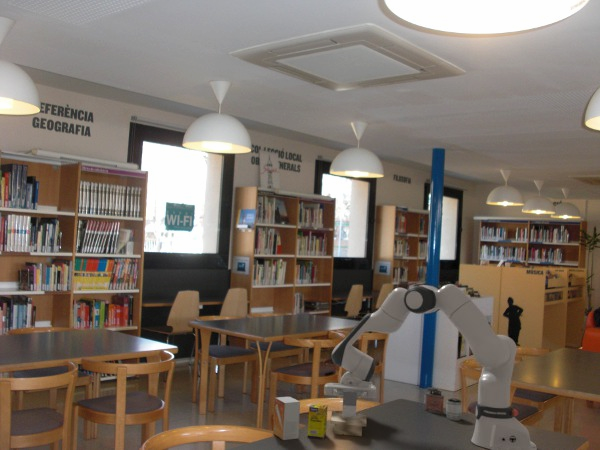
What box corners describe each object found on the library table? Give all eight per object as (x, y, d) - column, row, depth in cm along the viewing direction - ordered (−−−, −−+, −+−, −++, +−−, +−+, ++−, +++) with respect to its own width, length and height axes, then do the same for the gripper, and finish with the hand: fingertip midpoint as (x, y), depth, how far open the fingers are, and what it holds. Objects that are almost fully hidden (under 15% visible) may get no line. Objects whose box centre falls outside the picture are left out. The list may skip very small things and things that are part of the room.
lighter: (444, 412, 277) (445, 389, 278) (441, 414, 275) (442, 390, 275) (426, 409, 282) (427, 386, 282) (423, 410, 279) (424, 387, 279)
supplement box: (323, 439, 229) (325, 408, 229) (307, 437, 230) (308, 406, 230) (326, 435, 234) (328, 404, 235) (310, 433, 236) (311, 403, 236)
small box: (272, 433, 232) (274, 397, 233) (288, 432, 235) (290, 396, 236) (282, 440, 225) (284, 402, 226) (298, 438, 228) (300, 401, 229)
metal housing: (355, 416, 243) (357, 389, 244) (355, 419, 238) (357, 392, 239) (342, 415, 244) (343, 388, 244) (342, 418, 239) (343, 391, 239)
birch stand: (365, 427, 247) (366, 414, 247) (365, 437, 234) (366, 423, 234) (331, 425, 248) (332, 411, 248) (329, 434, 235) (330, 420, 235)
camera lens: (450, 415, 273) (451, 397, 273) (464, 419, 269) (464, 399, 269) (443, 418, 268) (444, 399, 268) (457, 421, 264) (457, 402, 264)
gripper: (324, 377, 259) (322, 384, 245) (376, 381, 257) (377, 389, 243) (324, 393, 259) (321, 401, 245) (375, 397, 257) (376, 405, 243)
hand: (349, 395), depth 244 cm, fingers open, 8 cm apart
